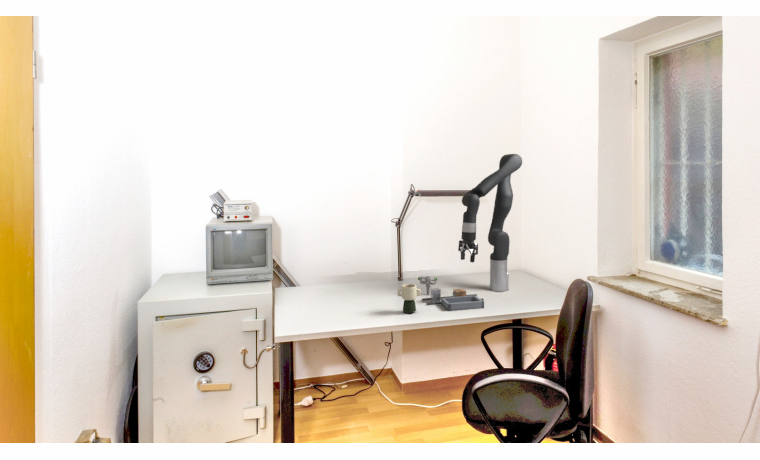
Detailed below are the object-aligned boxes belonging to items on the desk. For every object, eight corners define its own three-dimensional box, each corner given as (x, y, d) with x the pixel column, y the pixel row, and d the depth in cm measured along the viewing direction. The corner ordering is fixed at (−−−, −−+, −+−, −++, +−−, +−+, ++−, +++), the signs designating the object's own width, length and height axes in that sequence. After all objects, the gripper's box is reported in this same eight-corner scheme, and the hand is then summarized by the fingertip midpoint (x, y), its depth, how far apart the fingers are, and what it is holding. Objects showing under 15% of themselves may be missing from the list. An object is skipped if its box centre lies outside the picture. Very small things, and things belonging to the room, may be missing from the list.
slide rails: (476, 295, 224) (476, 294, 224) (483, 300, 214) (483, 299, 214) (421, 300, 219) (421, 298, 219) (427, 305, 209) (427, 303, 209)
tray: (475, 302, 213) (475, 295, 213) (484, 308, 202) (484, 301, 202) (441, 304, 210) (440, 298, 209) (448, 311, 199) (448, 304, 199)
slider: (462, 297, 220) (462, 288, 220) (466, 300, 215) (466, 291, 215) (452, 298, 219) (452, 289, 219) (455, 301, 214) (455, 291, 214)
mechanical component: (437, 296, 226) (437, 277, 225) (418, 295, 228) (417, 277, 227) (437, 294, 229) (437, 276, 227) (418, 294, 231) (418, 276, 229)
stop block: (438, 300, 217) (438, 287, 216) (440, 302, 213) (440, 289, 213) (430, 301, 217) (430, 288, 216) (433, 303, 213) (432, 290, 212)
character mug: (419, 309, 204) (419, 283, 202) (421, 314, 196) (421, 287, 195) (397, 310, 203) (396, 284, 202) (398, 315, 196) (398, 287, 195)
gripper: (483, 232, 221) (481, 262, 222) (466, 229, 234) (465, 258, 235) (471, 232, 218) (469, 263, 219) (455, 229, 230) (453, 259, 232)
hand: (467, 260), depth 227 cm, fingers open, 8 cm apart
